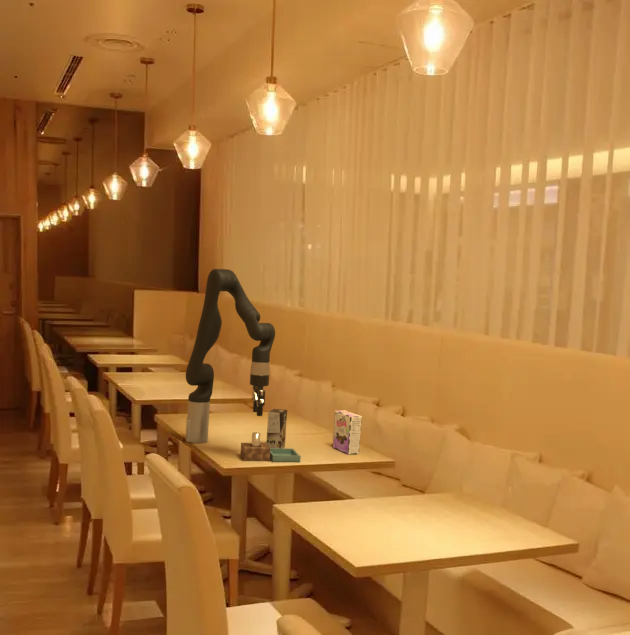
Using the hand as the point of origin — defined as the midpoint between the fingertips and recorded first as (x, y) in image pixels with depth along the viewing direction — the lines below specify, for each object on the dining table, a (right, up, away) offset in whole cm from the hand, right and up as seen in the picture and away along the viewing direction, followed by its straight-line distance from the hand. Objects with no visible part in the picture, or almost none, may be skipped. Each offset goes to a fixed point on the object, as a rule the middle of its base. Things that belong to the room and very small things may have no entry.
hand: (257, 414), depth 311 cm
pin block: (-1, -18, +1) cm, 18 cm away
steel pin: (-1, -18, +1) cm, 18 cm away
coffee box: (+6, -17, +21) cm, 28 cm away
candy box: (+36, -19, +25) cm, 48 cm away
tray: (+10, -18, +4) cm, 21 cm away
